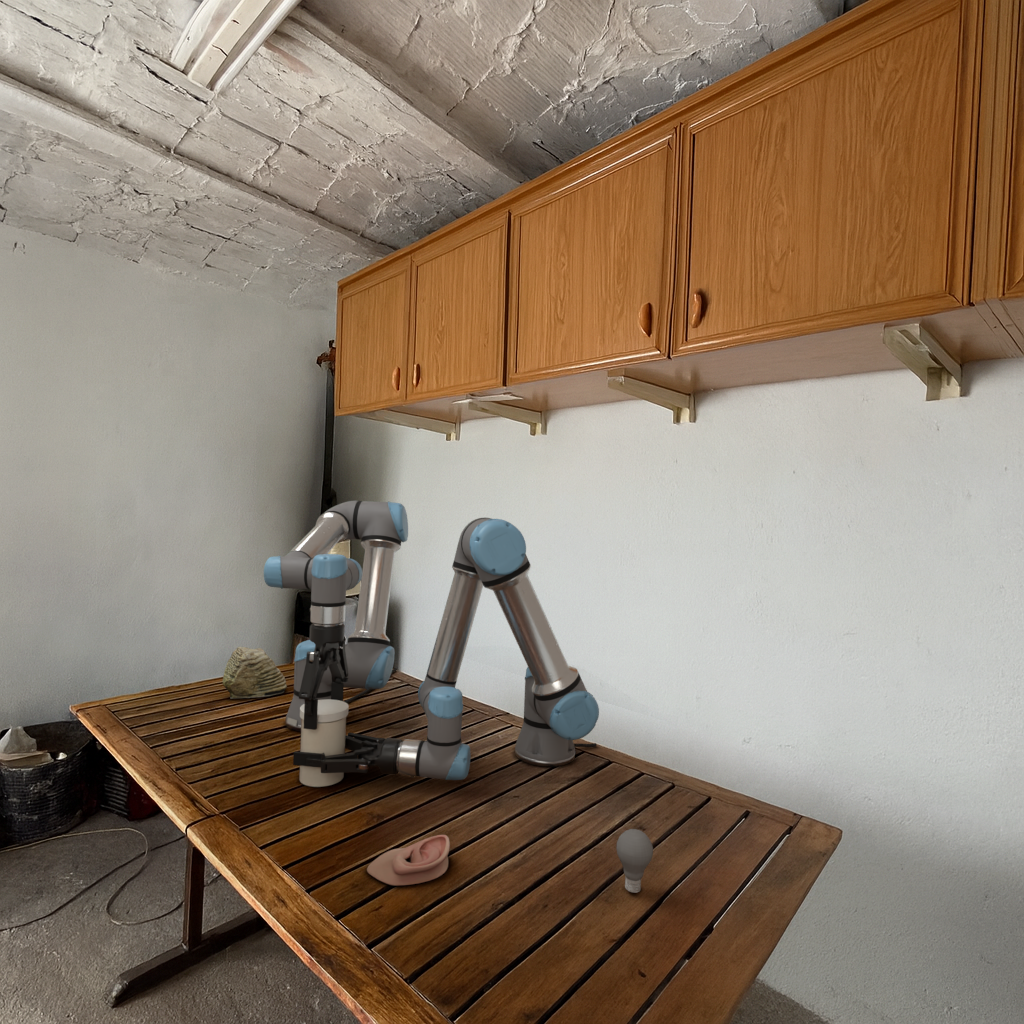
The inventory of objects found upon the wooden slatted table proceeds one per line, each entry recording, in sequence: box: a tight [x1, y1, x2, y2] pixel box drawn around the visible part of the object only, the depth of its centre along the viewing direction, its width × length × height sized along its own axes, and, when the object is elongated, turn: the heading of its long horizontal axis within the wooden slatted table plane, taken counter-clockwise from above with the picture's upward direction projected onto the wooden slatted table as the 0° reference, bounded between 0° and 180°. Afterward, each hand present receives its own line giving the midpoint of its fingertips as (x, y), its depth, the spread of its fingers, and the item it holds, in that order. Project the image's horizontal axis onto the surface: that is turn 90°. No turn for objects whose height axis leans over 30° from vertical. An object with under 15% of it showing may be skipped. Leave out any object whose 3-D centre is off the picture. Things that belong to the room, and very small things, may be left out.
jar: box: [298, 716, 347, 788], centre depth 143 cm, size 10×10×16 cm
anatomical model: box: [366, 834, 451, 886], centre depth 109 cm, size 13×4×12 cm
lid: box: [300, 699, 350, 722], centre depth 143 cm, size 10×10×2 cm
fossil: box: [222, 646, 288, 699], centre depth 198 cm, size 9×18×15 cm, turn 132°
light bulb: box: [615, 828, 654, 894], centre depth 106 cm, size 6×6×10 cm
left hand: (323, 719), depth 143 cm, fingers open, 12 cm apart
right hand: (304, 748), depth 143 cm, fingers closed on jar, 10 cm apart
